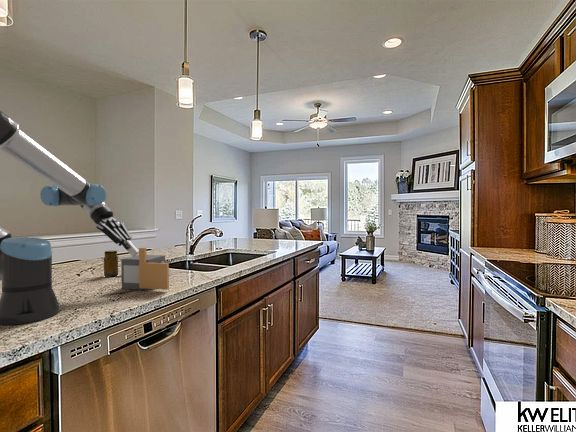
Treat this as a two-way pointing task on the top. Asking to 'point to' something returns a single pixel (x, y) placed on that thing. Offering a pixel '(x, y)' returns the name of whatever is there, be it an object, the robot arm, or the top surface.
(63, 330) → the top surface
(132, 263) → the housing
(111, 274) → the condiment
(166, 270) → the door
